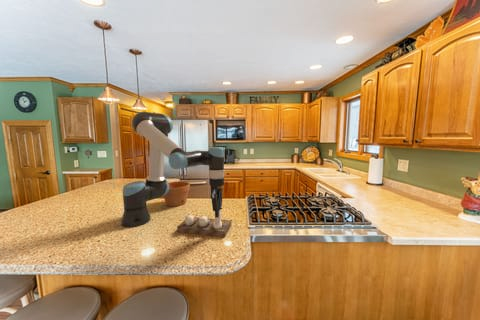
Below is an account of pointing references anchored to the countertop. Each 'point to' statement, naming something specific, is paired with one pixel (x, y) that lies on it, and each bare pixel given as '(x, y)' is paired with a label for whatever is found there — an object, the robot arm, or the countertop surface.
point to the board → (205, 228)
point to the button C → (217, 225)
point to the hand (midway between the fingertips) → (217, 222)
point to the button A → (189, 220)
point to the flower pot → (177, 193)
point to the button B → (203, 221)
